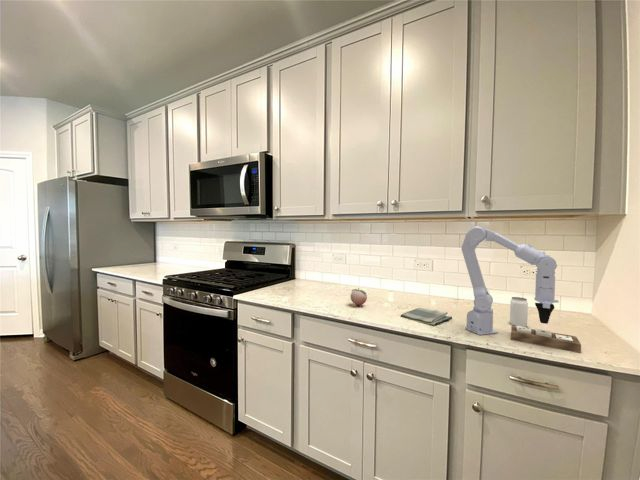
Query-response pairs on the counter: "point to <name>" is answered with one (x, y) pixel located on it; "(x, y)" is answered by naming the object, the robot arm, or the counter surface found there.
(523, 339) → the brown wooden tray
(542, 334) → the one dot tile
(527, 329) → the three dot tile
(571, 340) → the two dot tile
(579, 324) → the counter surface
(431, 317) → the dish towel
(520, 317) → the can
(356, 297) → the decorative fruit
